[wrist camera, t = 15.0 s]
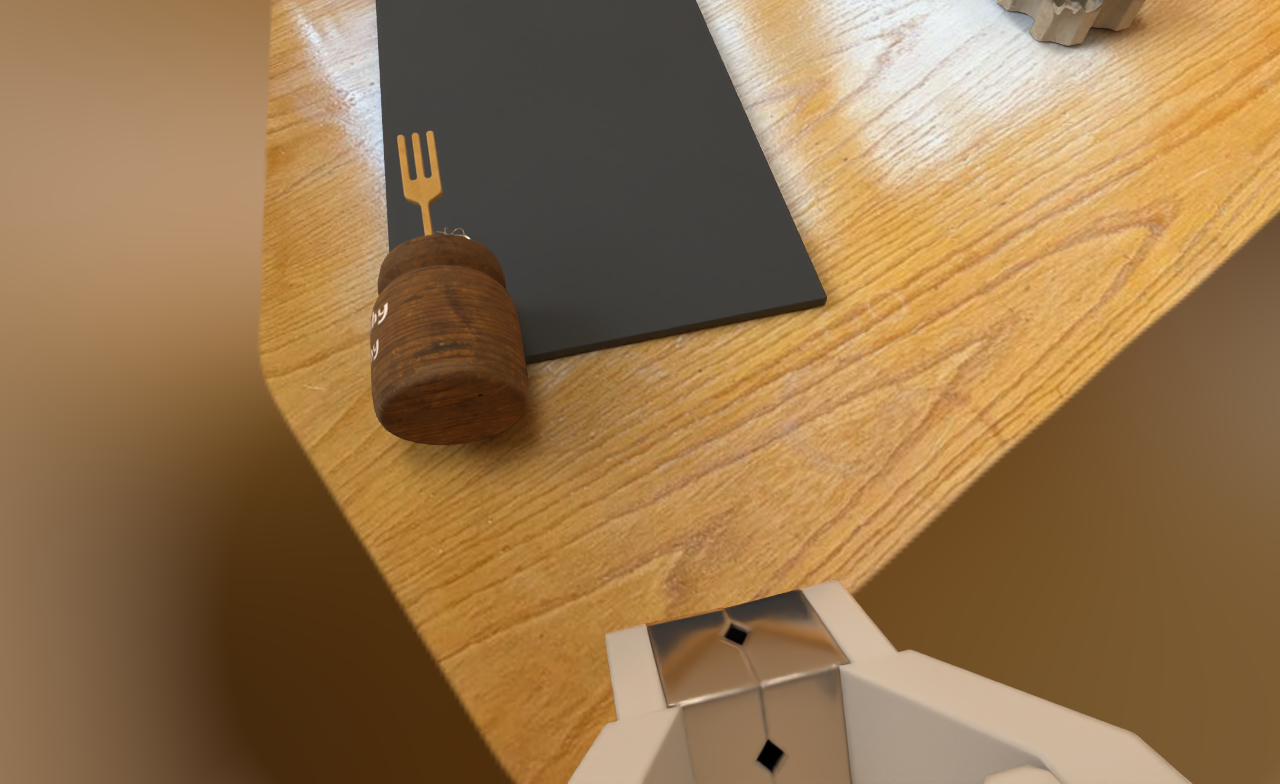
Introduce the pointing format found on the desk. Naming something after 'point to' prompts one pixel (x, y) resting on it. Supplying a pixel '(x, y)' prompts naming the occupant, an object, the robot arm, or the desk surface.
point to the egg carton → (1074, 17)
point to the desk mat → (590, 165)
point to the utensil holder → (444, 331)
